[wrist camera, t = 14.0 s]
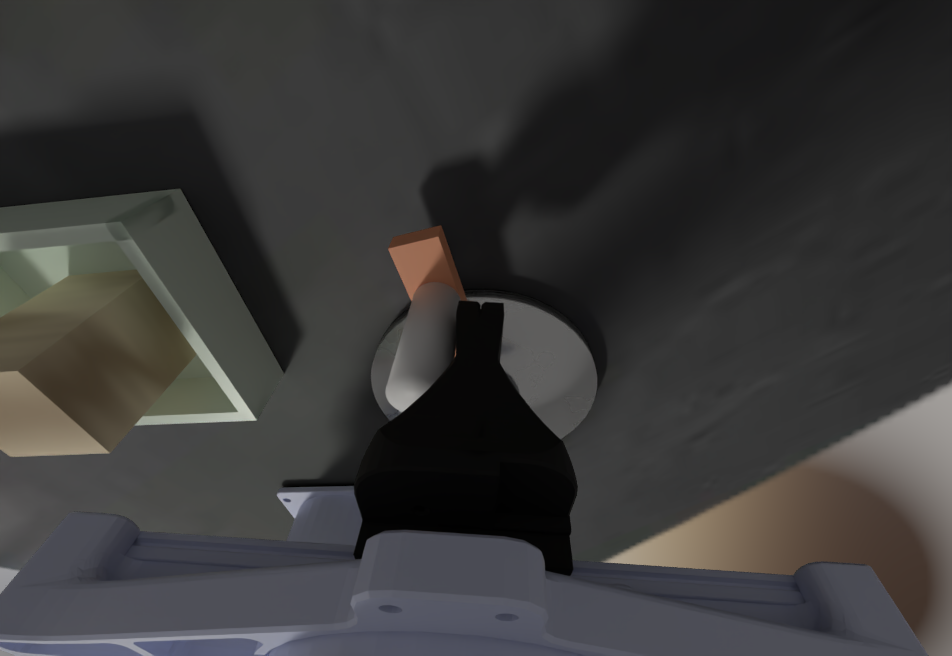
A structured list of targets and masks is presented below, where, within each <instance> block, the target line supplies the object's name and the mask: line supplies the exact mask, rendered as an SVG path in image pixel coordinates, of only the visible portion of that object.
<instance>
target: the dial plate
mask: <svg viewBox="0 0 952 656" xmlns="http://www.w3.org/2000/svg"><path fill="white" fill-rule="evenodd" d="M464 293H465V295H466V298H467V301H478V303H479V304H480V305H482V304H483V303H484V302H496V303H504V324H503V335H502V346H501V356H500V364H501V365H502V367H503V369H504V371H505V372H506V374H507V376H508V377H510V378H511V379H512V380H513V381H514V382H515V383H516V385H517V386H518V389H519V392H520V395H521V396H522V398H523V399H524V400H525V401H526V403H527V404H528V405H529V406H530V408H531V409H532V410H533V411H534V413H535V414H536V415H537V416H538V417H539V418H540V419H541V420H542V421H543V423H544V424H545V425H546V426H547V427H548V428H549V429H550V430H551V431H552V432H553V433H554V434H555V435H556V436H557V437H558V438H560V439H562V438H563V437H565V436H566V435H567V434H569V433H570V432H571V431H572V430H574V429H575V428H576V427H577V426H578V425H579V424H580V423H581V421H582V420H583V419H584V418H585V417H586V415H587V414H588V412H589V410H590V409H591V407H592V404H593V402H594V399H595V396H596V391H597V372H596V367H595V363H594V359H593V356H592V353H591V350H590V348H589V345H588V343H587V341H586V340H585V338H584V336H583V335H582V333H581V332H580V331H579V330H578V328H577V327H576V326H575V325H574V324H573V323H572V322H571V321H570V320H569V319H568V318H566V317H565V316H564V315H563V314H562V313H560V312H558V311H557V310H555V309H554V308H552V307H551V306H549V305H547V304H545V303H542V302H540V301H538V300H536V299H533V298H530V297H527V296H524V295H521V294H517V293H512V292H507V291H500V290H490V289H473V290H464ZM408 312H409V310H407V311H406V312H405V313H403V314H402V315H401V316H399V317H398V318H397V319H396V320H395V321H394V322H393V323H392V324H391V325H390V327H389V328H388V329H387V331H386V332H385V334H384V335H383V337H382V339H381V341H380V343H379V345H378V348H377V351H376V354H375V357H374V360H373V364H372V369H371V383H372V389H373V393H374V396H375V399H376V401H377V403H378V405H379V407H380V408H381V410H382V411H383V413H384V414H385V416H386V417H387V418H388V419H389V420H390V421H391V420H393V419H394V418H395V417H397V416H398V415H399V414H401V413H402V412H401V411H399V410H397V409H396V408H394V407H393V406H392V405H391V404H390V403H389V401H388V399H387V397H386V393H385V391H386V386H387V383H388V379H389V376H390V373H391V369H392V366H393V362H394V359H395V356H396V352H397V349H398V346H399V342H400V339H401V336H402V332H403V329H404V325H405V322H406V319H407V315H408Z"/></svg>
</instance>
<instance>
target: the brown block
mask: <svg viewBox="0 0 952 656" xmlns="http://www.w3.org/2000/svg"><path fill="white" fill-rule="evenodd" d="M196 355H197V353H196V352H195V351H194V349H193V348H192V346H191V345H190V344H189V342H188V341H187V340H186V338H185V337H184V335H183V334H182V333H181V331H180V330H179V328H178V327H177V326H176V324H175V323H174V321H173V320H172V319H171V317H170V316H169V314H168V313H167V312H166V310H165V309H164V307H163V306H162V305H161V303H160V302H159V300H158V299H157V298H156V296H155V295H154V293H153V292H152V291H151V289H150V288H149V286H148V285H147V284H146V282H145V281H144V279H143V278H142V277H141V275H140V274H139V272H138V271H137V270H125V271H115V272H104V273H93V274H82V275H71V276H67V277H66V278H64V279H62V280H61V281H59V282H58V283H56V284H54V285H53V286H51V287H49V288H48V289H46V290H45V291H43V292H41V293H40V294H38V295H36V296H35V297H33V298H32V299H30V300H28V301H27V302H25V303H23V304H22V305H20V306H19V307H17V308H15V309H14V310H12V311H10V312H9V313H7V314H5V315H4V316H2V317H1V318H0V450H2V451H3V452H5V453H6V454H7V455H9V456H10V457H22V456H48V455H74V454H100V453H111V452H112V450H113V449H114V448H115V447H116V446H117V445H118V444H119V442H120V441H121V440H122V439H123V438H124V437H125V436H126V434H127V433H128V432H129V431H130V430H131V429H132V428H133V426H134V425H135V424H136V423H137V422H138V421H139V420H140V419H141V417H142V416H143V415H144V414H145V413H146V412H147V411H148V409H149V408H150V407H151V406H152V405H153V404H154V403H155V401H156V400H157V399H158V398H159V397H160V396H161V395H162V393H163V392H164V391H165V390H166V389H167V388H168V387H169V386H170V384H171V383H172V382H173V381H174V380H175V379H176V378H177V376H178V375H179V374H180V373H181V372H182V371H183V370H184V368H185V367H186V366H187V365H188V364H189V363H190V362H191V361H192V359H193V358H194V357H195V356H196Z"/></svg>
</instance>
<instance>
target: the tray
mask: <svg viewBox="0 0 952 656" xmlns="http://www.w3.org/2000/svg"><path fill="white" fill-rule="evenodd" d="M125 270H137V271H138V272H139V274H140V275H141V277H142V278H143V279H144V281H145V282H146V284H147V285H148V286H149V288H150V289H151V291H152V292H153V293H154V295H155V296H156V298H157V299H158V300H159V302H160V303H161V305H162V306H163V307H164V309H165V310H166V312H167V313H168V314H169V316H170V317H171V319H172V320H173V321H174V323H175V324H176V326H177V327H178V328H179V330H180V331H181V333H182V334H183V335H184V337H185V338H186V340H187V341H188V342H189V344H190V345H191V346H192V348H193V349H194V351H195V352H196V353H197V355H196V356H195V357H194V358H193V359H192V361H191V362H190V363H189V364H188V365H187V366H186V367H185V368H184V370H183V371H182V372H181V373H180V374H179V375H178V376H177V378H176V379H175V380H174V381H173V382H172V383H171V384H170V386H169V387H168V388H167V389H166V390H165V391H164V392H163V393H162V395H161V396H160V397H159V398H158V399H157V400H156V401H155V403H154V404H153V405H152V406H151V407H150V408H149V409H148V411H147V412H146V413H145V414H144V415H143V416H142V417H141V419H140V420H139V421H138V422H137V423H136V424H135V425H155V424H179V423H204V422H228V421H252V420H257V419H258V418H259V416H260V414H261V413H262V411H263V409H264V408H265V406H266V404H267V402H268V401H269V399H270V397H271V396H272V394H273V392H274V391H275V389H276V387H277V385H278V384H279V382H280V380H281V379H282V377H283V375H284V373H283V371H282V369H281V367H280V365H279V364H278V362H277V360H276V358H275V357H274V355H273V353H272V351H271V349H270V348H269V346H268V344H267V342H266V340H265V339H264V337H263V335H262V333H261V332H260V330H259V328H258V326H257V324H256V323H255V321H254V319H253V317H252V316H251V314H250V312H249V310H248V308H247V307H246V305H245V303H244V301H243V299H242V298H241V296H240V294H239V292H238V291H237V289H236V287H235V285H234V283H233V282H232V280H231V278H230V276H229V275H228V273H227V271H226V269H225V267H224V266H223V264H222V262H221V260H220V258H219V257H218V255H217V253H216V251H215V250H214V248H213V246H212V244H211V242H210V241H209V239H208V237H207V235H206V233H205V232H204V230H203V228H202V226H201V225H200V223H199V221H198V219H197V217H196V216H195V214H194V212H193V210H192V209H191V207H190V205H189V203H188V201H187V200H186V198H185V196H184V194H183V192H182V191H181V189H171V190H162V191H152V192H143V193H133V194H124V195H114V196H105V197H95V198H86V199H76V200H67V201H57V202H48V203H38V204H29V205H19V206H10V207H0V318H1V317H2V316H4V315H5V314H7V313H9V312H10V311H12V310H14V309H15V308H17V307H19V306H20V305H22V304H23V303H25V302H27V301H28V300H30V299H32V298H33V297H35V296H36V295H38V294H40V293H41V292H43V291H45V290H46V289H48V288H49V287H51V286H53V285H54V284H56V283H58V282H59V281H61V280H62V279H64V278H66V277H67V276H71V275H82V274H93V273H104V272H115V271H125Z"/></svg>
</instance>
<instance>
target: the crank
mask: <svg viewBox="0 0 952 656" xmlns="http://www.w3.org/2000/svg"><path fill="white" fill-rule="evenodd" d="M388 250H389V252H390V254H391V257H392V259H393V261H394V263H395V266H396V268H397V270H398V272H399V274H400V277H401V279H402V281H403V283H404V286H405V288H406V290H407V292H408V295H409V297H410V299H411V301H412V302H411V305H410V309H409V312H408V315H407V319H406V322H405V325H404V329H403V332H402V336H401V339H400V342H399V346H398V349H397V352H396V356H395V359H394V362H393V366H392V369H391V373H390V376H389V379H388V383H387V386H386V391H385V393H386V397H387V399H388V401H389V403H390V404H391V405H392V406H393V407H394V408H396V409H397V410H399V411H401V412H403V411H404V410H406V409H407V408H408V407H409V406H410V405H411V404H412V403H414V402H415V401H416V400H417V399H418V398H419V397H420V396H421V395H423V394H424V393H425V392H426V391H427V390H428V389H429V388H430V387H431V385H432V384H433V383H434V382H435V381H436V380H437V379H438V378H439V377H440V376H441V374H442V373H443V372H444V371H445V370H446V368H447V367H448V366H449V365H450V363H451V362H452V361H453V359H454V358H455V356H456V311H457V306H458V302H459V300H460V301H467V298H466V295H465V293H464V290H463V287H462V284H461V281H460V278H459V275H458V272H457V269H456V267H455V264H454V261H453V258H452V255H451V252H450V249H449V246H448V243H447V241H446V238H445V235H444V232H443V229H442V226H441V225H440V226H436V227H432V228H428V229H424V230H420V231H416V232H412V233H408V234H404V235H400V236H396V237H393V239H392V241H391V243H390V245H389V248H388ZM509 379H510V381H511V382H512V384H513V385H514V387H515V388H516V390H517V391H518V392H519V389H518V386H517V385H516V383H515V382H514V381H513V380H512V379H511V378H510V377H509ZM519 394H520V392H519Z"/></svg>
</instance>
